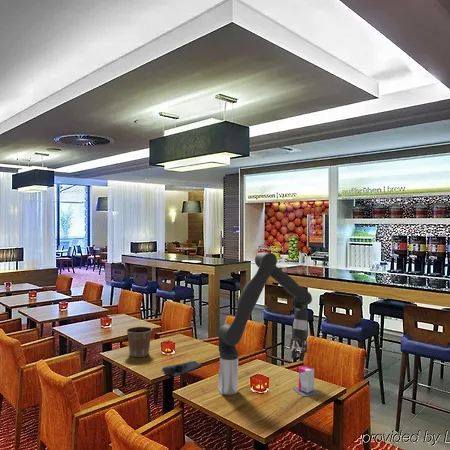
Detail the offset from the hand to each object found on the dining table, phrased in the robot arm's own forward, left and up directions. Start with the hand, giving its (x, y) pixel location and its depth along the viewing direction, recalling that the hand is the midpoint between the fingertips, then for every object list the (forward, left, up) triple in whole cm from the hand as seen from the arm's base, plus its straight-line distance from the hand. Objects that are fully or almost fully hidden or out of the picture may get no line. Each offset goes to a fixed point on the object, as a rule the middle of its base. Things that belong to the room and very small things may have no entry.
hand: (297, 359), depth 216 cm
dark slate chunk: (-54, +37, -14) cm, 67 cm away
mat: (0, -10, -13) cm, 17 cm away
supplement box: (0, -10, -13) cm, 16 cm away
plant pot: (-75, +71, -13) cm, 104 cm away
